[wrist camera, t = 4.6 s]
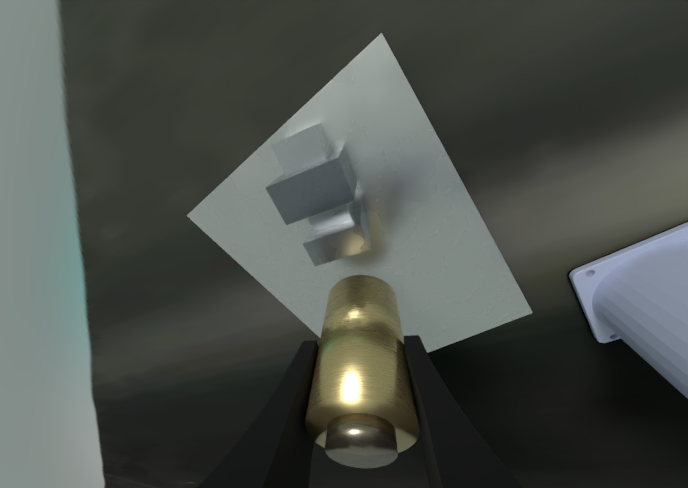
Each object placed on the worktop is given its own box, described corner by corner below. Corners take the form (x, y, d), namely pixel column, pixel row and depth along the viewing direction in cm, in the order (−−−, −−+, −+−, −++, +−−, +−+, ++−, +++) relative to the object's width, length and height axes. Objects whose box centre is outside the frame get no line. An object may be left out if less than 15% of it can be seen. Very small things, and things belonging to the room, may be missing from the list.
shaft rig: (381, 35, 11) (388, 5, 8) (529, 308, 18) (566, 353, 15) (190, 213, 16) (146, 240, 13) (363, 373, 23) (363, 417, 20)
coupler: (371, 262, 13) (379, 406, 7) (410, 310, 14) (445, 465, 8) (313, 295, 14) (275, 439, 8) (354, 335, 16) (348, 484, 10)
